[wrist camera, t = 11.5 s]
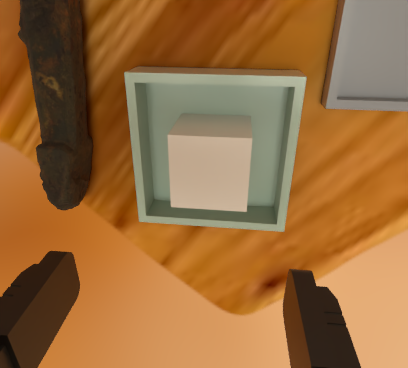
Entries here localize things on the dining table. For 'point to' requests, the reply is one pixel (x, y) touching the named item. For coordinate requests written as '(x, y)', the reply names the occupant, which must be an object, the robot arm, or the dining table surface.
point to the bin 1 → (219, 105)
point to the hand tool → (59, 96)
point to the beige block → (210, 161)
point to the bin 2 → (368, 57)
